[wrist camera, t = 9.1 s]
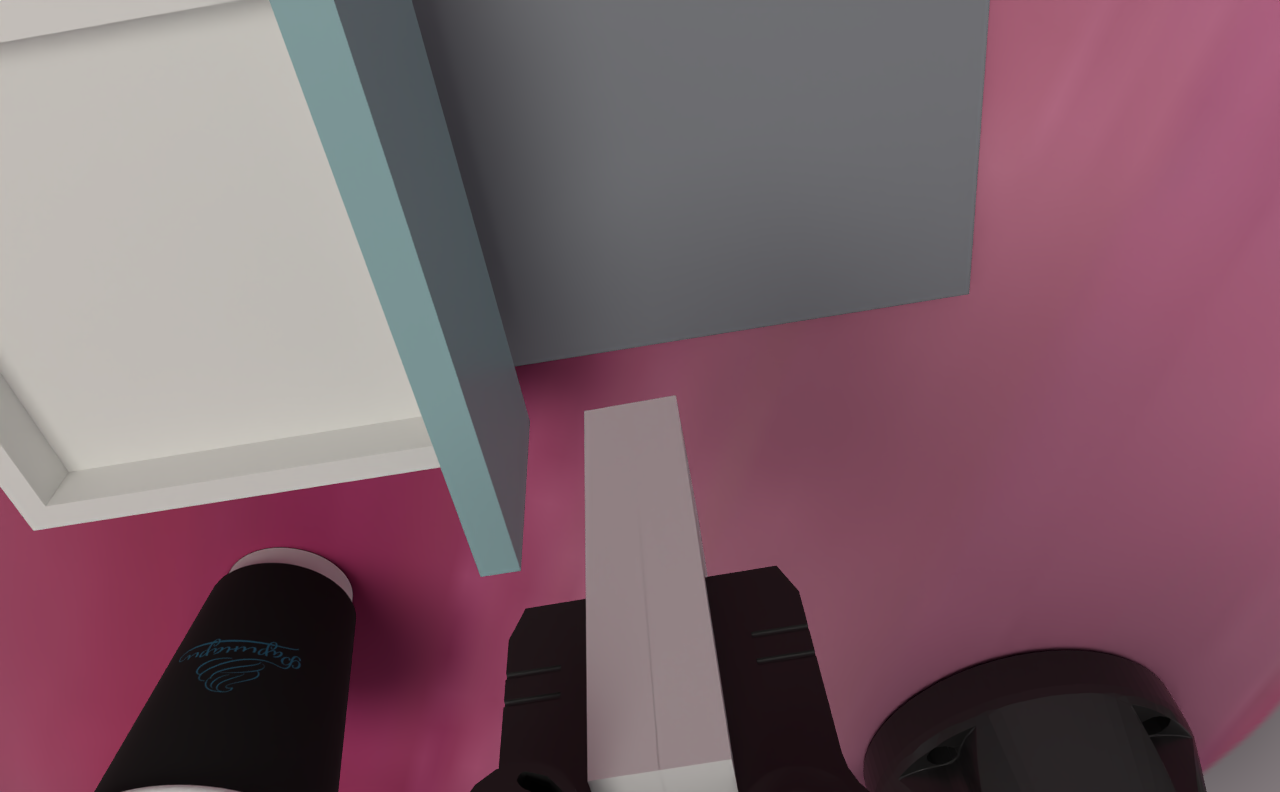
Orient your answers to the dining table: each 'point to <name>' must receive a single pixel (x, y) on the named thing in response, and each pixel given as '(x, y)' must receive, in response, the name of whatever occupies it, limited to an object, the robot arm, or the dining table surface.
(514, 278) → the track
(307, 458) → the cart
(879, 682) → the dining table surface
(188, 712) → the dixie cup
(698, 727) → the robot arm
